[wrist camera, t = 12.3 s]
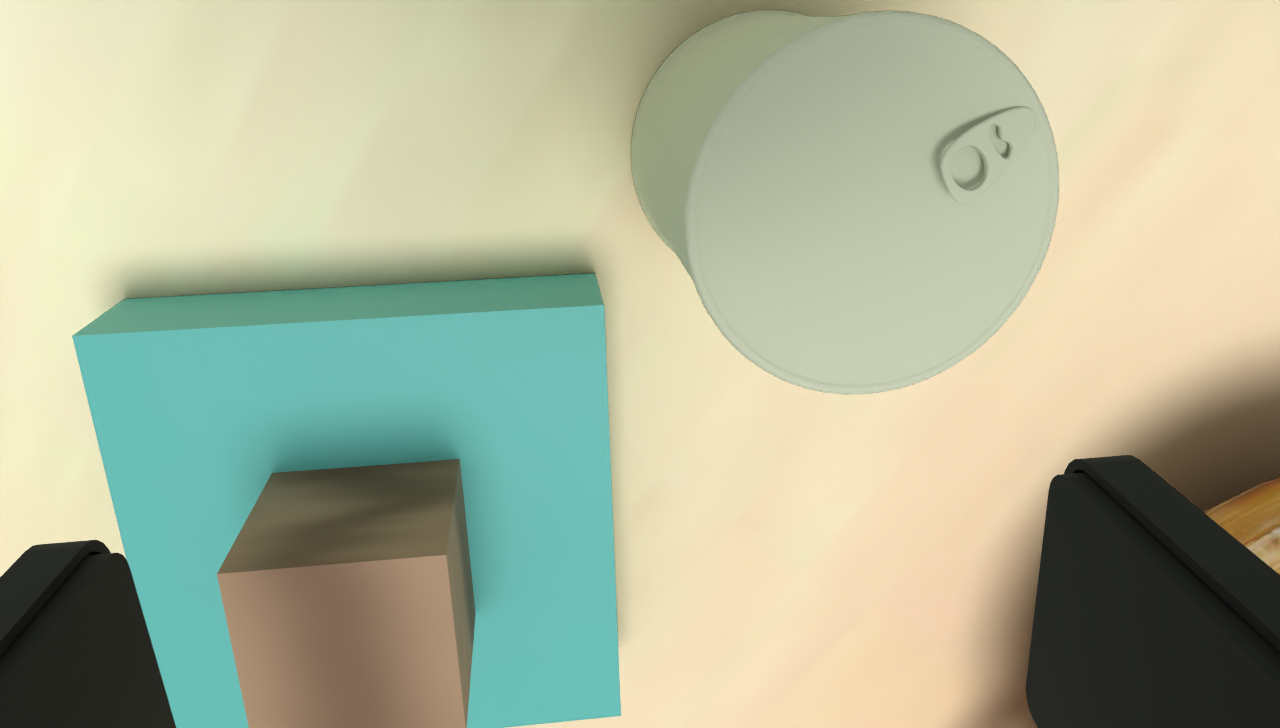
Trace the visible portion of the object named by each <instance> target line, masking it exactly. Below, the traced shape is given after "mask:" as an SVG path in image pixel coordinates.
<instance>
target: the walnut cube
mask: <svg viewBox="0 0 1280 728" xmlns="http://www.w3.org/2000/svg"><path fill="white" fill-rule="evenodd" d="M217 578H218V582H219V587H220V592H221V597H222V602H223V606H224V611H225V616H226V621H227V626H228V630H229V635H230V640H231V645H232V650H233V654H234V659H235V664H236V669H237V674H238V678H239V683H240V688H241V693H242V698H243V702H244V707H245V712H246V717H247V722H248V726H249V728H467V718H468V705H469V692H470V679H471V666H472V654H473V641H474V628H475V615H476V613H475V603H474V593H473V583H472V574H471V564H470V554H469V544H468V535H467V525H466V515H465V505H464V495H463V486H462V476H461V466H460V459H454V460H441V461H427V462H414V463H400V464H387V465H373V466H360V467H346V468H333V469H319V470H306V471H292V472H279V473H272V474H271V476H270V477H269V479H268V481H267V483H266V485H265V487H264V488H263V490H262V492H261V494H260V496H259V498H258V499H257V501H256V503H255V505H254V507H253V509H252V510H251V512H250V514H249V516H248V518H247V520H246V521H245V523H244V525H243V527H242V529H241V531H240V532H239V534H238V536H237V538H236V540H235V542H234V543H233V545H232V547H231V549H230V551H229V553H228V554H227V556H226V558H225V560H224V562H223V564H222V565H221V567H220V569H219V571H218V573H217Z"/></svg>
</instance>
